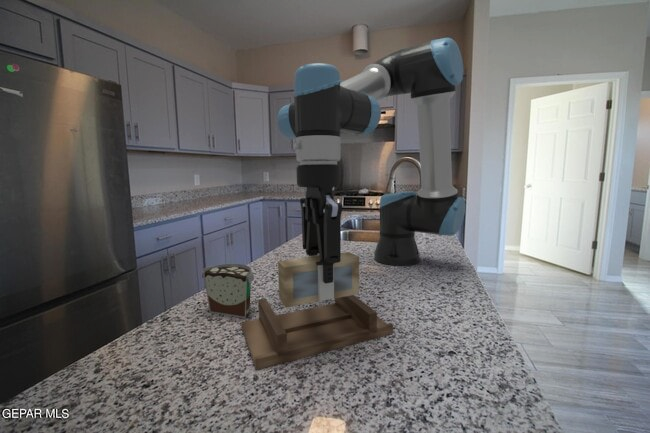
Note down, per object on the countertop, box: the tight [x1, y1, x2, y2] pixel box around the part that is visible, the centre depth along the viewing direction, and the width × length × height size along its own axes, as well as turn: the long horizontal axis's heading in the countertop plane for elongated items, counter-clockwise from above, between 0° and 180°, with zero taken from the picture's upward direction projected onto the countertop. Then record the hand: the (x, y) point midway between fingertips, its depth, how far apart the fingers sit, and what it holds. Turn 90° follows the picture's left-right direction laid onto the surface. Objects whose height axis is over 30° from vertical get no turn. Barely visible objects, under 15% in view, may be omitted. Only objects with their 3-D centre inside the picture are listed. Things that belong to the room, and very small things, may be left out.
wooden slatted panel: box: [240, 295, 394, 371], centre depth 61 cm, size 26×15×5 cm, turn 113°
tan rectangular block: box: [277, 251, 360, 308], centre depth 56 cm, size 14×4×7 cm, turn 113°
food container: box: [201, 263, 255, 319], centre depth 70 cm, size 12×6×10 cm, turn 71°
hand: (320, 293), depth 57 cm, fingers closed on tan rectangular block, 4 cm apart
